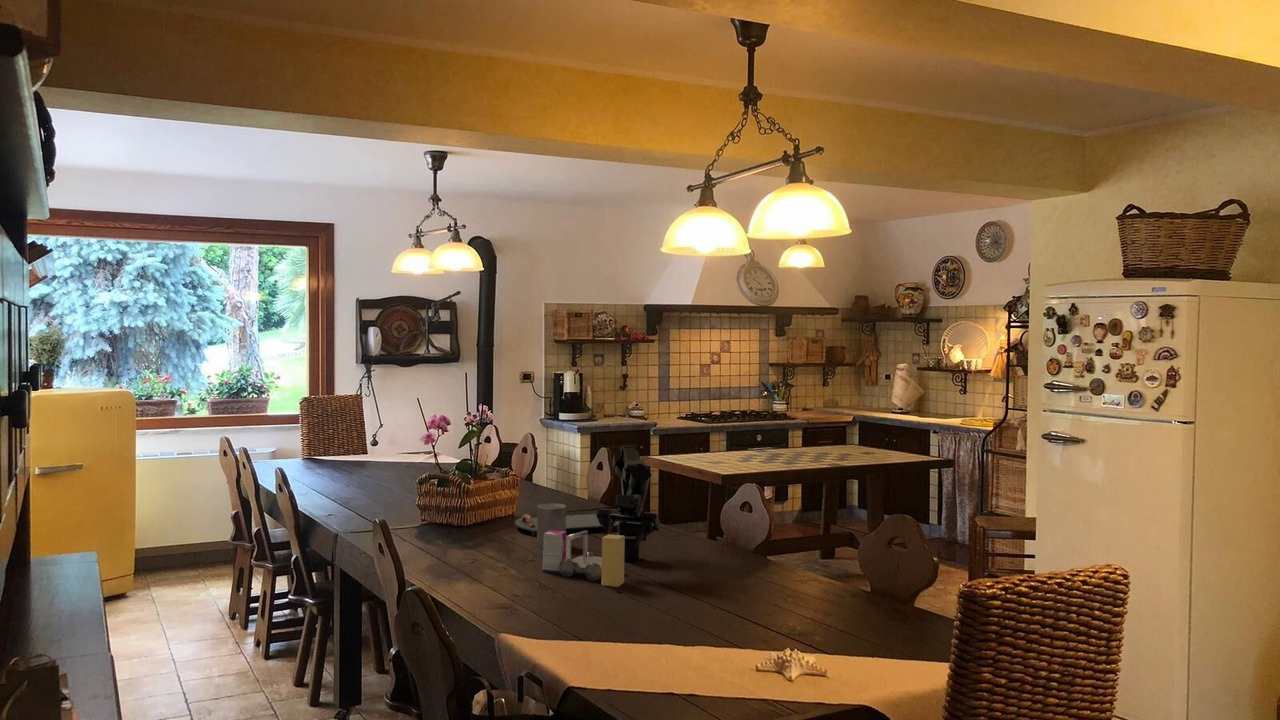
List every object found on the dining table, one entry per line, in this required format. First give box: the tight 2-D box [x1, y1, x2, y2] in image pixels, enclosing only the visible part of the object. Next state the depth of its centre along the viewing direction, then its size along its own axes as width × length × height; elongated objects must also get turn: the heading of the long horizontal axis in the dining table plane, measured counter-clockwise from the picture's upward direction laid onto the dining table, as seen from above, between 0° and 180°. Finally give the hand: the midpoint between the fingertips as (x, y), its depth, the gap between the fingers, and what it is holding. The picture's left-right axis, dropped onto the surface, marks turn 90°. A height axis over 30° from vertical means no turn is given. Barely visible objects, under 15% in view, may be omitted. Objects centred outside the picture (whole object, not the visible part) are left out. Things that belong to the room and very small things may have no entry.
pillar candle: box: [536, 502, 567, 550], centre depth 320 cm, size 10×10×15 cm
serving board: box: [514, 513, 620, 537], centre depth 352 cm, size 39×23×6 cm, turn 113°
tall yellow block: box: [600, 533, 625, 588], centre depth 272 cm, size 5×5×14 cm
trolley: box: [559, 529, 602, 582], centre depth 283 cm, size 13×14×12 cm
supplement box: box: [542, 530, 568, 574], centre depth 287 cm, size 6×6×12 cm
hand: (620, 543), depth 278 cm, fingers open, 9 cm apart
